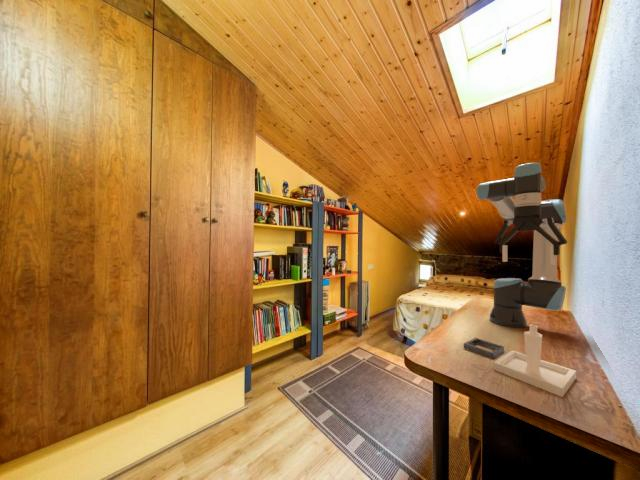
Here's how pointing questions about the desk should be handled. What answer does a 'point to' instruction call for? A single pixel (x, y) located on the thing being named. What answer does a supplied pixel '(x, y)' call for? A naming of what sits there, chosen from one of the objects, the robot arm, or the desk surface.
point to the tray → (550, 379)
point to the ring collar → (493, 354)
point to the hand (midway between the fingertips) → (527, 263)
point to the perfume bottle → (533, 350)
